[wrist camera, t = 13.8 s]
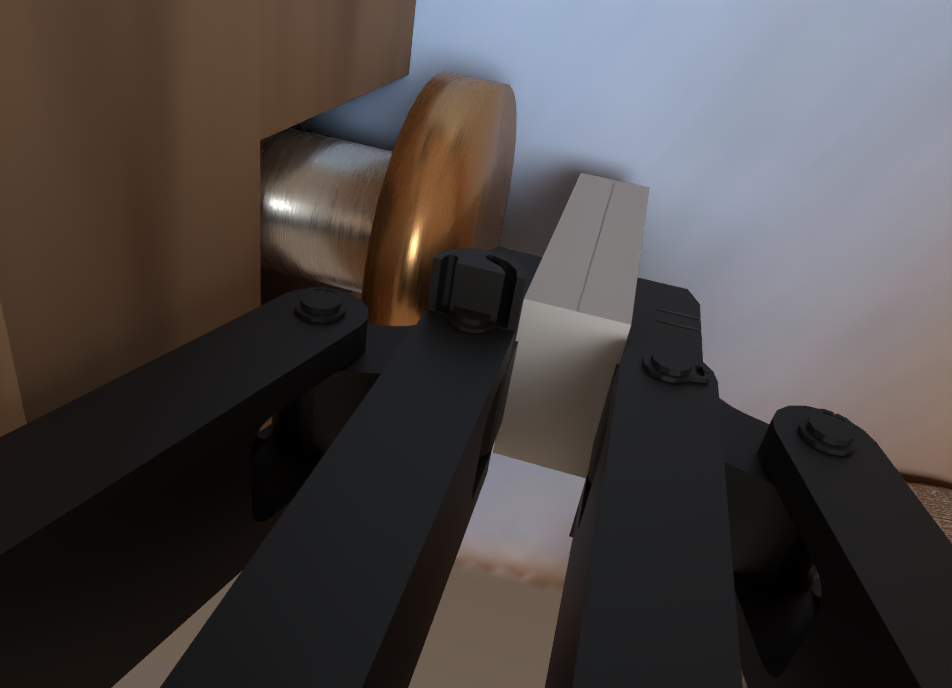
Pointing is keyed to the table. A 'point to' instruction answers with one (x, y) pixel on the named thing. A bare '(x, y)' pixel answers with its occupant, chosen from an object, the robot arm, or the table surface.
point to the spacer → (153, 170)
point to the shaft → (391, 197)
